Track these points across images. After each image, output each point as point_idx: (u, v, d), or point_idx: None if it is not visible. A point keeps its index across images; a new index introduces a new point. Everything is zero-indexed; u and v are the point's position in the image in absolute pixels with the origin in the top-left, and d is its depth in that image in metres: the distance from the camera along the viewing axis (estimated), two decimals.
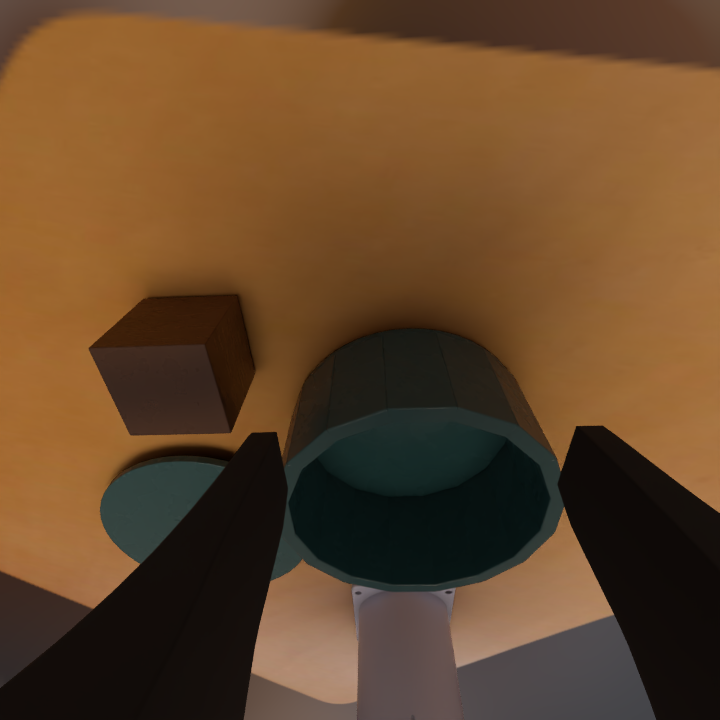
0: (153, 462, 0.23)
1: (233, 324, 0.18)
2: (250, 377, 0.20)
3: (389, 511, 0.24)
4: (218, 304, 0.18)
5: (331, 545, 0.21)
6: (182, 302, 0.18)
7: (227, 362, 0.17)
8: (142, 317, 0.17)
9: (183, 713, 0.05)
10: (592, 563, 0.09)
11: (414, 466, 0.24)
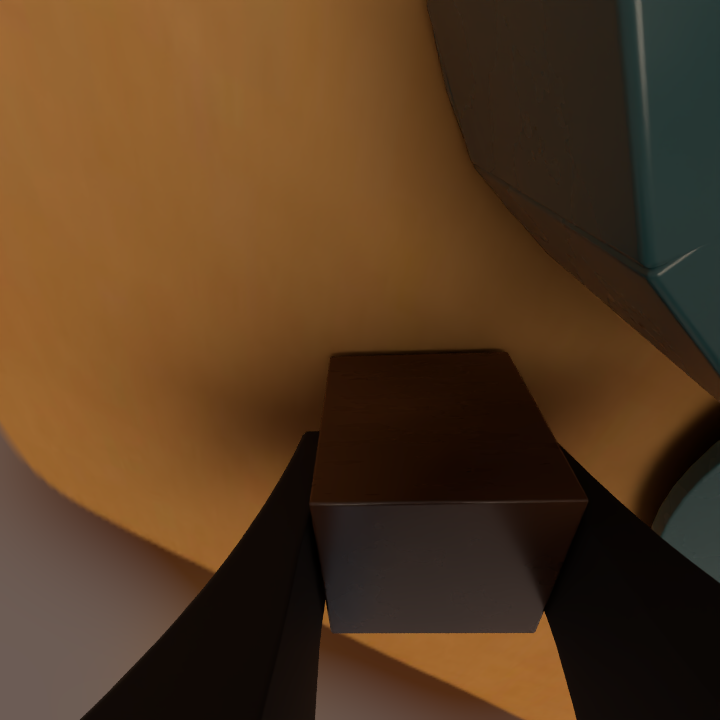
0: None
1: (361, 387, 0.09)
2: (504, 368, 0.09)
3: None
4: None
5: None
6: None
7: (412, 435, 0.08)
8: None
9: (285, 713, 0.05)
10: None
11: None
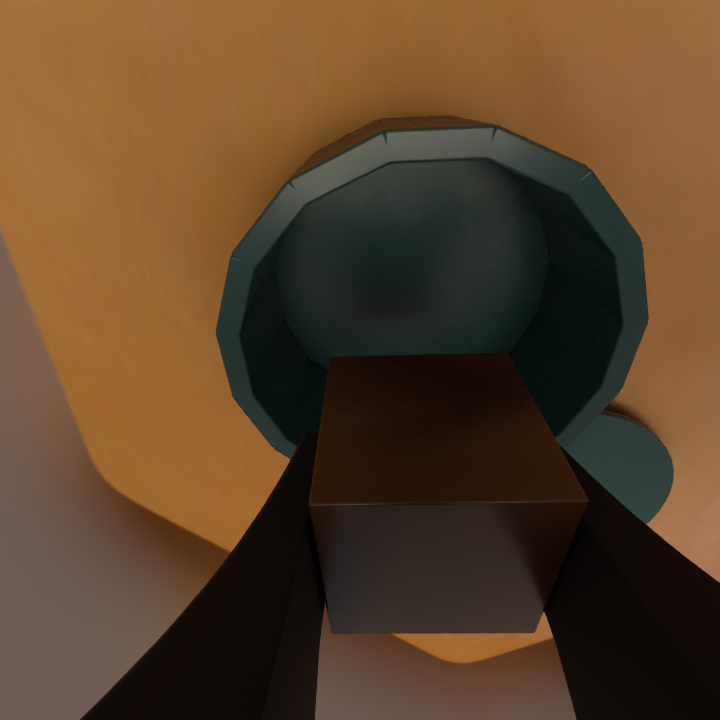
0: None
1: (361, 387, 0.09)
2: (504, 368, 0.09)
3: (548, 320, 0.16)
4: None
5: None
6: None
7: (413, 435, 0.08)
8: None
9: (284, 713, 0.05)
10: None
11: (481, 276, 0.16)
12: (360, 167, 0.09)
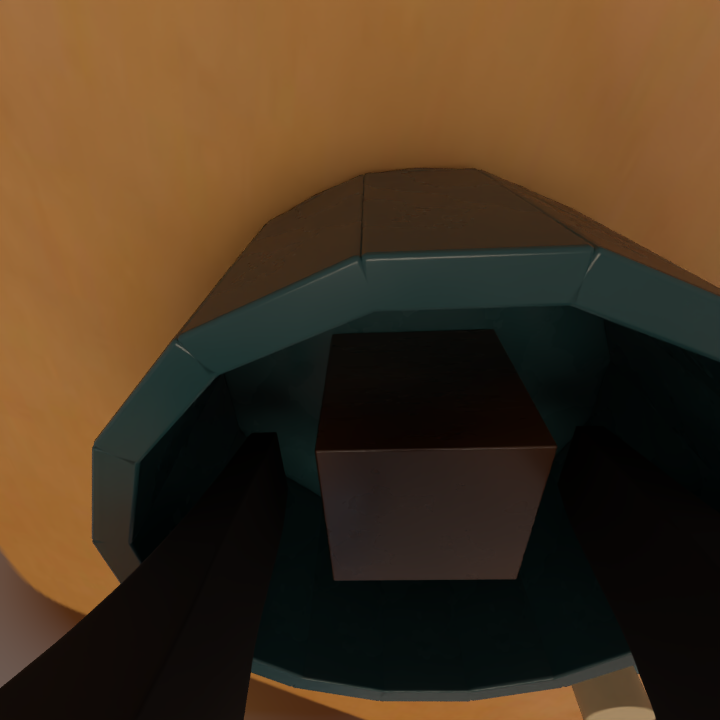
0: None
1: (360, 358, 0.10)
2: (490, 342, 0.10)
3: None
4: None
5: (563, 621, 0.11)
6: None
7: (406, 397, 0.09)
8: None
9: (183, 713, 0.05)
10: (592, 563, 0.09)
11: None
12: (314, 319, 0.05)
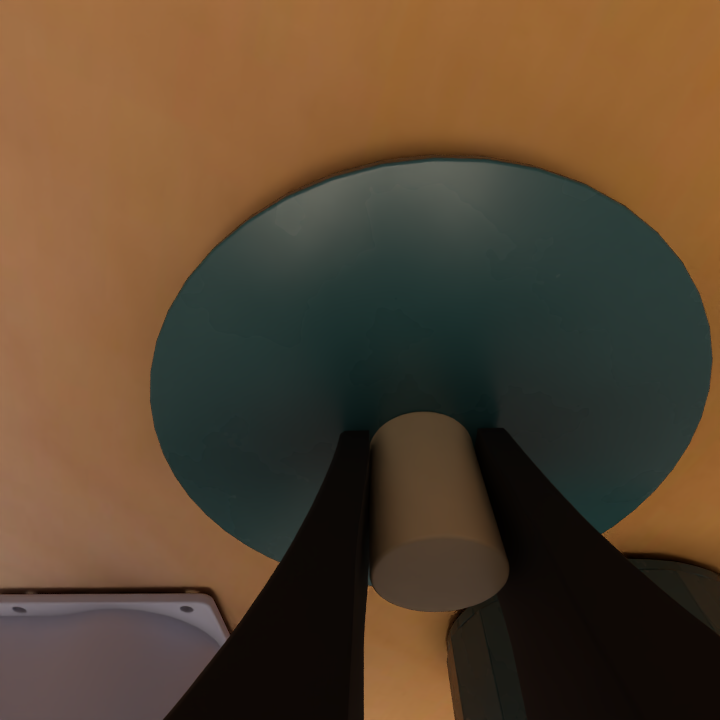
0: (704, 394, 0.09)
1: None
2: None
3: None
4: None
5: None
6: None
7: None
8: None
9: (354, 714, 0.05)
10: None
11: None
12: None
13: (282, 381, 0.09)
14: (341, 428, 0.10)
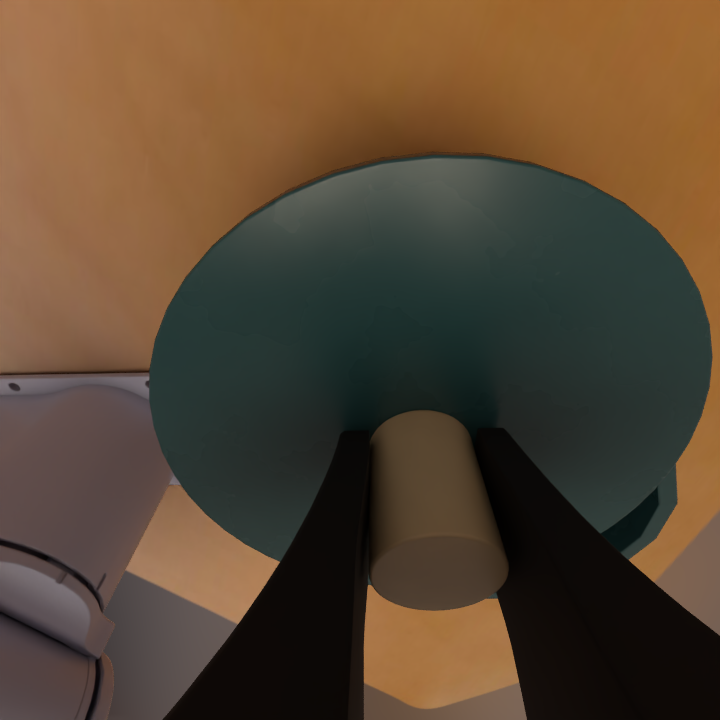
0: (705, 392, 0.09)
1: None
2: None
3: None
4: None
5: None
6: None
7: None
8: None
9: (354, 714, 0.05)
10: None
11: None
12: None
13: (281, 379, 0.09)
14: (340, 427, 0.10)
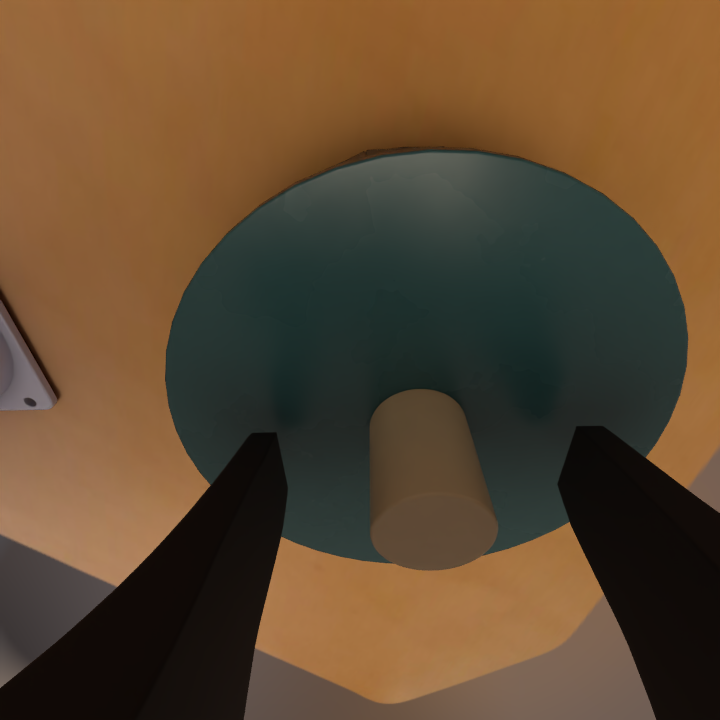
0: (683, 372, 0.10)
1: None
2: None
3: None
4: None
5: None
6: None
7: None
8: None
9: (183, 713, 0.05)
10: (592, 563, 0.09)
11: None
12: None
13: (288, 359, 0.10)
14: (343, 405, 0.11)
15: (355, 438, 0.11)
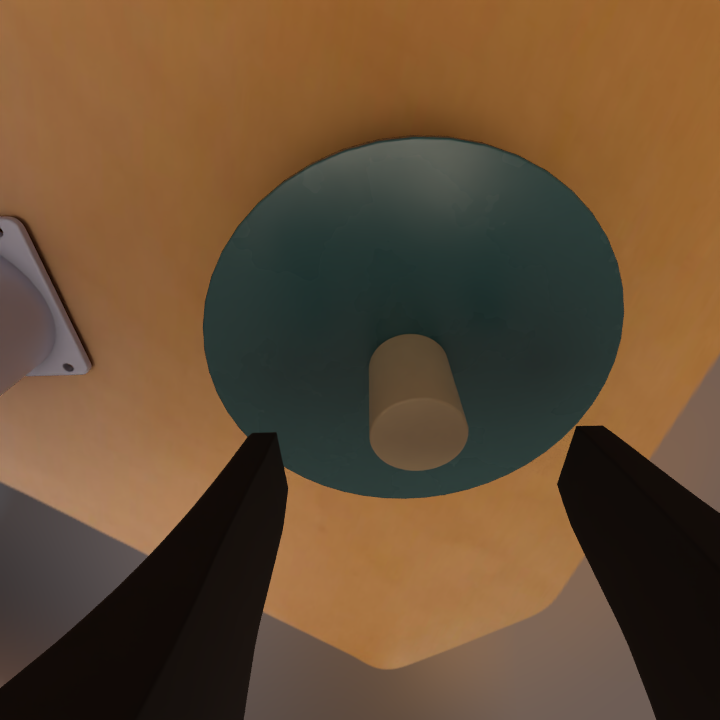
0: (622, 319, 0.12)
1: None
2: None
3: None
4: None
5: None
6: None
7: None
8: None
9: (183, 713, 0.05)
10: (592, 563, 0.09)
11: None
12: None
13: (303, 308, 0.12)
14: (347, 349, 0.13)
15: (357, 378, 0.14)
